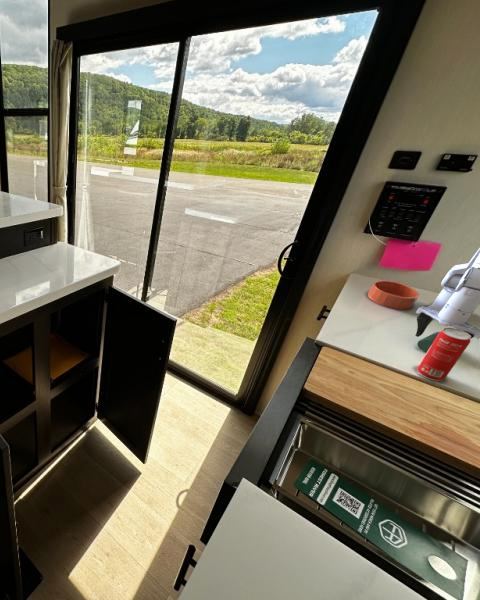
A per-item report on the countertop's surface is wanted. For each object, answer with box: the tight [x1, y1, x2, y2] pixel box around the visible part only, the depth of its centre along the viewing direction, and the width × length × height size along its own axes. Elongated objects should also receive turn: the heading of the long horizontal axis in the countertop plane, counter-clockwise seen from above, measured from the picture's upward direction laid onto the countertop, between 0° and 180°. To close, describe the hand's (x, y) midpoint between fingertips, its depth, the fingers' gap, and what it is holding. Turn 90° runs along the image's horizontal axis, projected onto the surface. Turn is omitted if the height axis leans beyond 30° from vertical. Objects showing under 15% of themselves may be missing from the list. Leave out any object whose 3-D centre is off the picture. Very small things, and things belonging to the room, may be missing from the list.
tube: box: [417, 331, 440, 353], centre depth 100 cm, size 9×4×4 cm, turn 114°
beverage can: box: [416, 327, 472, 382], centre depth 87 cm, size 6×6×15 cm
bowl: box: [367, 279, 420, 310], centre depth 122 cm, size 13×13×5 cm
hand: (433, 342), depth 100 cm, fingers open, 7 cm apart
